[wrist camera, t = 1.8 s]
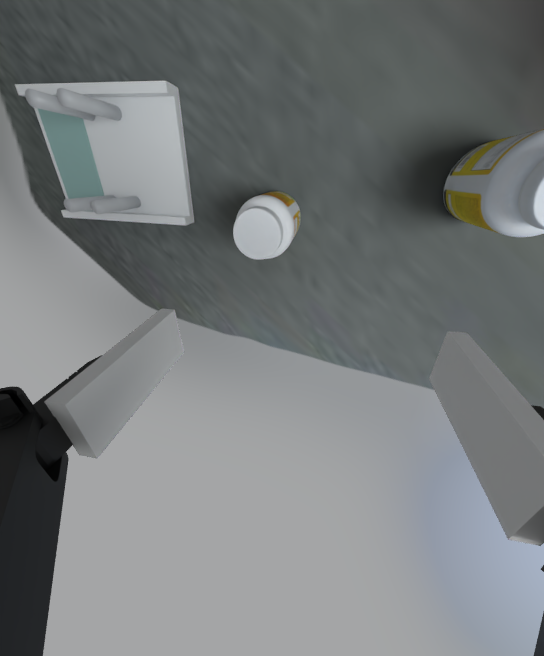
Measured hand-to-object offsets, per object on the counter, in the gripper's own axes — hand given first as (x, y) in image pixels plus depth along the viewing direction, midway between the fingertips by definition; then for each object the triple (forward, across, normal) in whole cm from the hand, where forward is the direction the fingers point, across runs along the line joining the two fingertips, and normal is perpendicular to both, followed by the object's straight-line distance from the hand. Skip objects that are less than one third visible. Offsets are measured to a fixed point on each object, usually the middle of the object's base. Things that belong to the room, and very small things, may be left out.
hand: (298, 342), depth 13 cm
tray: (+20, -22, +9) cm, 31 cm away
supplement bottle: (+20, -4, +3) cm, 21 cm away
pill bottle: (+20, +15, +6) cm, 26 cm away
